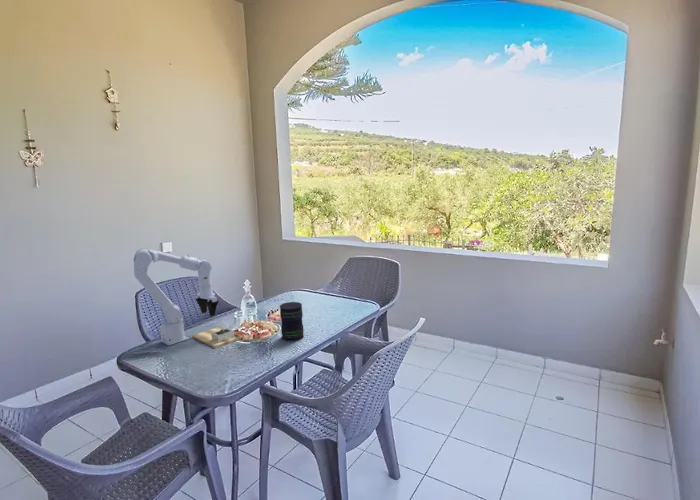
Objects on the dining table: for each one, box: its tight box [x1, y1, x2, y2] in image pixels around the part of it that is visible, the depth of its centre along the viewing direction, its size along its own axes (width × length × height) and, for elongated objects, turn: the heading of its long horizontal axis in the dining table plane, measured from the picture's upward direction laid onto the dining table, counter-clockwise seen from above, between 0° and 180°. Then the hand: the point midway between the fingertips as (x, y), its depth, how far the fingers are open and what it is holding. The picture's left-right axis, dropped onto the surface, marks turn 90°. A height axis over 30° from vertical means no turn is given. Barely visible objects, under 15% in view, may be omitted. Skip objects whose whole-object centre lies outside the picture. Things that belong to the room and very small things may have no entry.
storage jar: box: [279, 301, 305, 342], centre depth 194 cm, size 10×10×15 cm
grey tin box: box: [211, 327, 235, 343], centre depth 194 cm, size 8×6×3 cm
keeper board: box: [191, 326, 238, 349], centre depth 197 cm, size 14×20×5 cm
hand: (208, 314), depth 202 cm, fingers open, 7 cm apart
